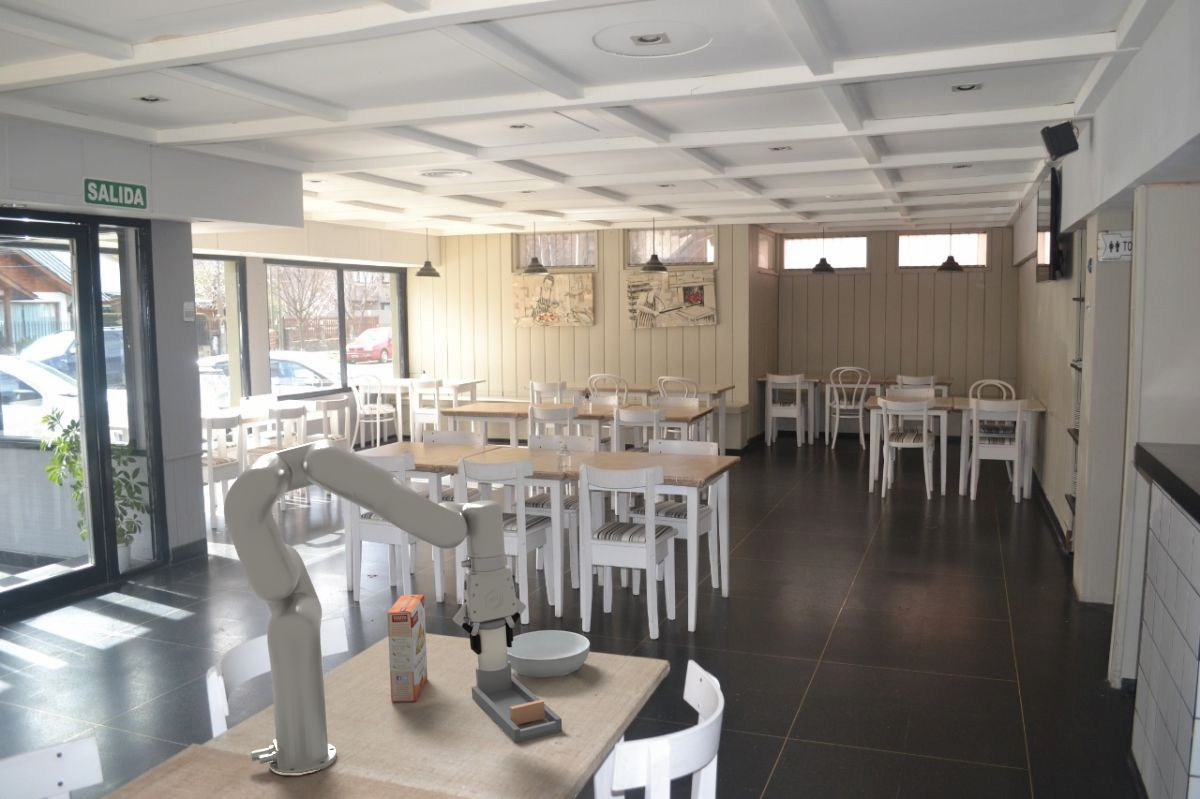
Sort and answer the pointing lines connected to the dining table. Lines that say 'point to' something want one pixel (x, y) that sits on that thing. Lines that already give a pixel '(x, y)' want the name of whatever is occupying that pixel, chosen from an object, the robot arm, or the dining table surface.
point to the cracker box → (407, 648)
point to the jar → (493, 645)
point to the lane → (511, 704)
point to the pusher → (527, 712)
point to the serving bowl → (548, 653)
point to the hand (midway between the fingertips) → (492, 648)
